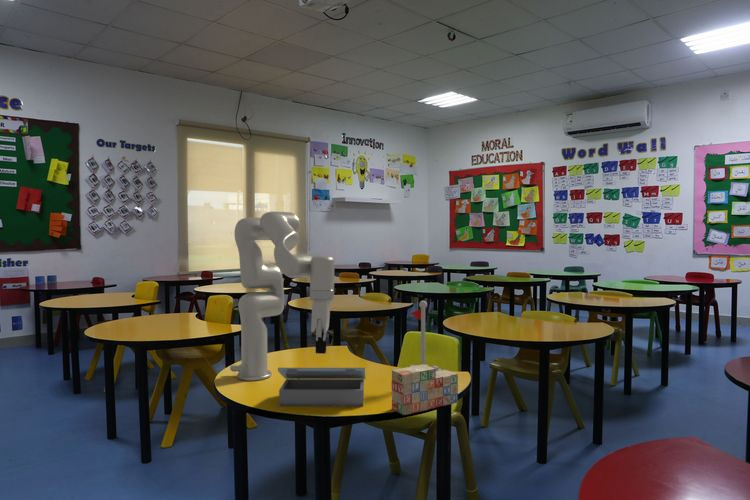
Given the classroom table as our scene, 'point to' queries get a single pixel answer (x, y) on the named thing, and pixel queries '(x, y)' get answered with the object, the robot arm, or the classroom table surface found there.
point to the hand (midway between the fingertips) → (320, 352)
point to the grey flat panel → (322, 373)
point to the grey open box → (322, 392)
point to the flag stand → (422, 331)
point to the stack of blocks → (422, 389)
